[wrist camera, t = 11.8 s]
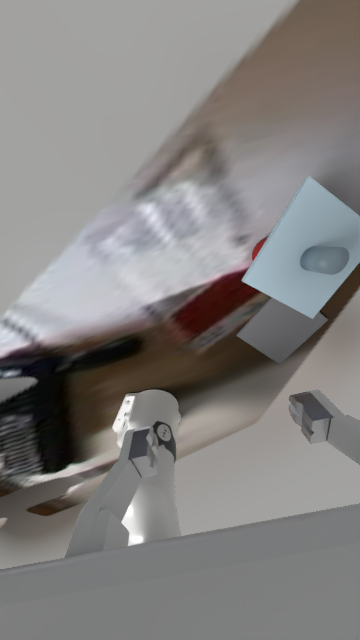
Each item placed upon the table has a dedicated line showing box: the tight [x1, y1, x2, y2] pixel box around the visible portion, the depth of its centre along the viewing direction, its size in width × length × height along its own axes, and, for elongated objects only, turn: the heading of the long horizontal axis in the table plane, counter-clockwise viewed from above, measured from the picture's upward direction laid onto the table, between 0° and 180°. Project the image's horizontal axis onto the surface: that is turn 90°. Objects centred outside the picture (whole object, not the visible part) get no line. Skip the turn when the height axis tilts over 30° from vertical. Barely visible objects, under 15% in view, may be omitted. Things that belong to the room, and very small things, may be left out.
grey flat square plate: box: [237, 297, 328, 364], centre depth 44 cm, size 16×16×1 cm
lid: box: [242, 176, 360, 319], centre depth 24 cm, size 14×14×5 cm
